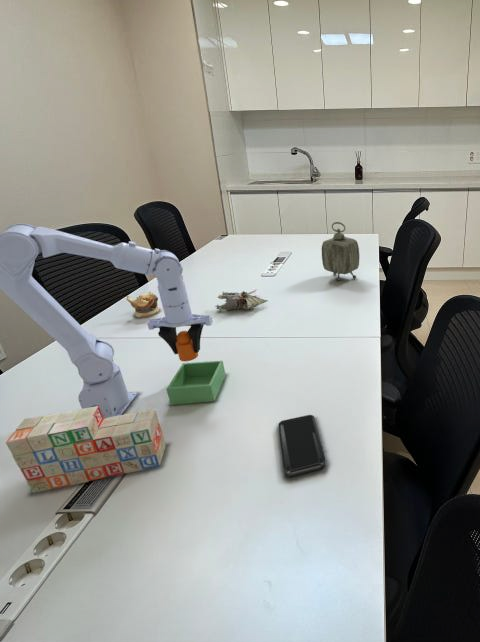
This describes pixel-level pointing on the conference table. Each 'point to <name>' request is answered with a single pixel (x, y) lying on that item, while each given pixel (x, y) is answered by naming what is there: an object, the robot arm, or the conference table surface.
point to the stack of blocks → (85, 446)
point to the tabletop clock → (340, 254)
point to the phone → (301, 446)
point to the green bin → (196, 382)
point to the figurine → (239, 301)
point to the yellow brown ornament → (144, 304)
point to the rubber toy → (185, 347)
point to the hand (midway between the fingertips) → (187, 351)
